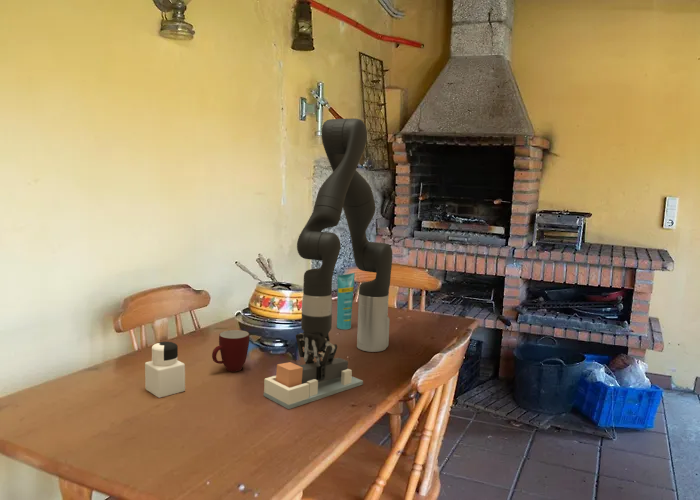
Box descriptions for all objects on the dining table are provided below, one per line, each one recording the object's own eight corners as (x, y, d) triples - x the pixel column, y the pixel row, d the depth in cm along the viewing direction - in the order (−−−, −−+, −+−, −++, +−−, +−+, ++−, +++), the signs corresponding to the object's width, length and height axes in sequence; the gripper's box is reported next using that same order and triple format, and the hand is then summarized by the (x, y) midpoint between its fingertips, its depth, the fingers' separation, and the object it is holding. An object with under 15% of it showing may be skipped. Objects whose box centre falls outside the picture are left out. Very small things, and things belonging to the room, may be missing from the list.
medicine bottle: (171, 382, 152) (171, 337, 150) (185, 391, 147) (185, 344, 145) (145, 389, 147) (144, 343, 145) (158, 398, 142) (157, 350, 140)
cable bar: (335, 371, 158) (337, 353, 158) (348, 376, 155) (350, 358, 154) (275, 384, 144) (276, 364, 144) (288, 390, 141) (289, 370, 140)
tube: (341, 331, 202) (342, 276, 199) (331, 328, 205) (333, 273, 202) (356, 327, 207) (358, 273, 204) (346, 324, 211) (348, 271, 208)
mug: (224, 379, 155) (224, 342, 154) (205, 371, 161) (205, 335, 159) (254, 369, 163) (255, 334, 162) (236, 362, 169) (236, 328, 167)
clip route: (337, 373, 162) (337, 357, 162) (362, 384, 155) (363, 368, 155) (263, 395, 146) (263, 378, 145) (288, 409, 138) (289, 390, 138)
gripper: (347, 315, 145) (344, 382, 147) (310, 303, 155) (308, 366, 157) (324, 319, 140) (322, 389, 142) (287, 307, 150) (285, 373, 152)
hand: (314, 377), depth 150 cm, fingers closed on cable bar, 3 cm apart
